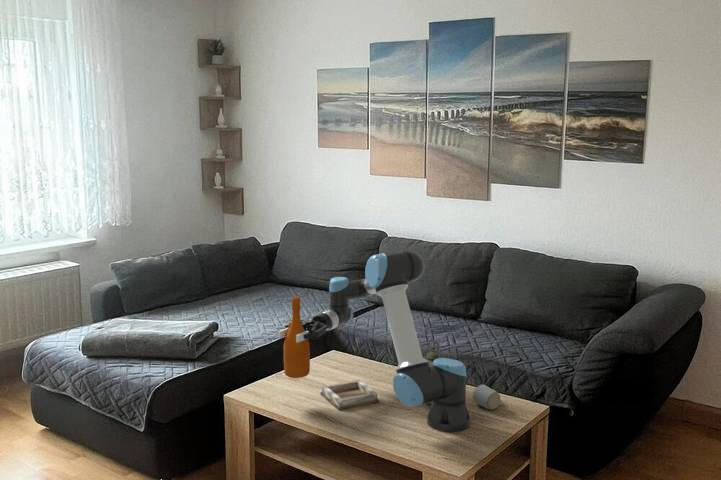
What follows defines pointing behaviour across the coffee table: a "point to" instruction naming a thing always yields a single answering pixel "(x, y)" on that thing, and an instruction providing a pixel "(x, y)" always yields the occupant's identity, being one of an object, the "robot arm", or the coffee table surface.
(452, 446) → the coffee table surface
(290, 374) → the wine bottle
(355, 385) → the bottle stand
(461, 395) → the robot arm
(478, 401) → the ceramic mug
